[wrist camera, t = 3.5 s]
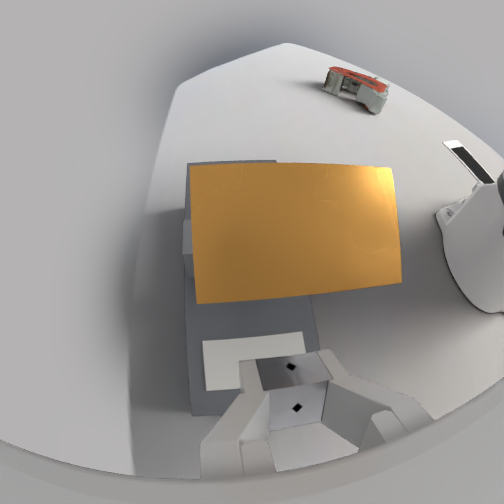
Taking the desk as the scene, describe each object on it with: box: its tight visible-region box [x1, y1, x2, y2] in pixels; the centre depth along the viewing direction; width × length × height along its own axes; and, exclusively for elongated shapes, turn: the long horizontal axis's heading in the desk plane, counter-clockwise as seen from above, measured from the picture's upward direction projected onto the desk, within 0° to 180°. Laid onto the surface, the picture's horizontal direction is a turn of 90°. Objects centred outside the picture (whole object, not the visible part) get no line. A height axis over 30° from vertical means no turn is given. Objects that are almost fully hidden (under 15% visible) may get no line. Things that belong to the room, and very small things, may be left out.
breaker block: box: [182, 160, 320, 416], centre depth 20 cm, size 20×8×9 cm, turn 7°
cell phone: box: [443, 140, 495, 184], centre depth 41 cm, size 8×16×1 cm, turn 26°
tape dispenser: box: [322, 67, 390, 114], centre depth 47 cm, size 18×5×20 cm
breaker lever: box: [190, 163, 402, 304], centre depth 12 cm, size 3×5×14 cm, turn 97°
